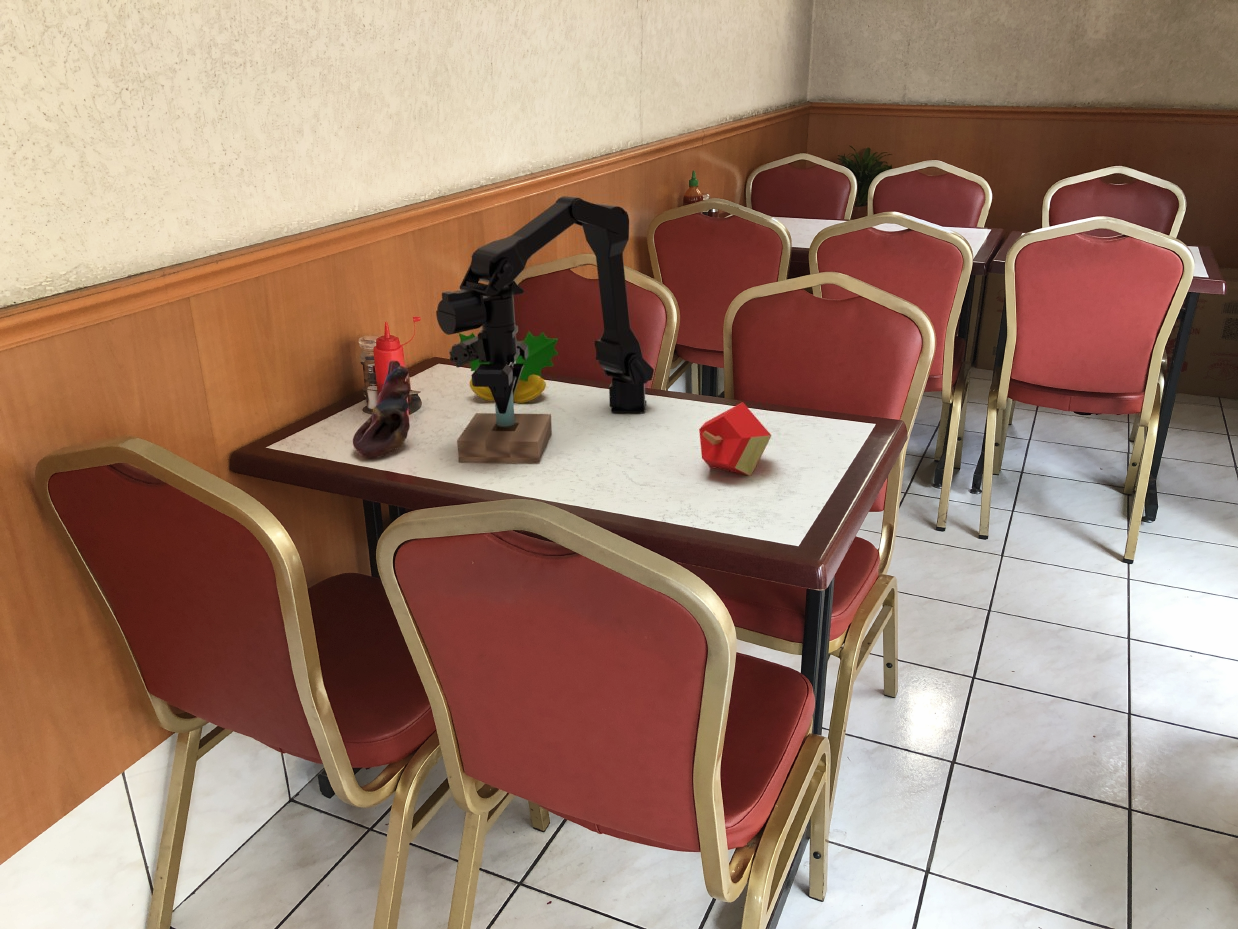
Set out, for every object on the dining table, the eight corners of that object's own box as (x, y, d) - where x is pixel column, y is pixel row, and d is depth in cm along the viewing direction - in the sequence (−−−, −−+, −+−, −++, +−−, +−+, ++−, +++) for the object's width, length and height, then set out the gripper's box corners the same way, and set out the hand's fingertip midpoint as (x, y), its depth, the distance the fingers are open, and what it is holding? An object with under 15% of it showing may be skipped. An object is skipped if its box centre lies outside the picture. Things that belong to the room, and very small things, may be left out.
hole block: (551, 434, 178) (550, 413, 177) (538, 463, 166) (537, 441, 164) (477, 433, 180) (475, 413, 178) (458, 462, 167) (456, 440, 165)
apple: (781, 477, 163) (744, 478, 150) (716, 468, 169) (676, 468, 156) (790, 407, 162) (753, 402, 149) (724, 400, 168) (684, 395, 156)
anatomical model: (340, 452, 173) (329, 371, 167) (399, 432, 181) (390, 355, 175) (370, 465, 167) (359, 381, 161) (429, 444, 175) (421, 364, 169)
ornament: (567, 393, 201) (564, 322, 195) (561, 406, 193) (557, 333, 187) (469, 392, 203) (464, 321, 197) (459, 405, 195) (453, 332, 189)
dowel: (516, 420, 172) (513, 377, 169) (512, 426, 169) (509, 383, 166) (498, 420, 172) (495, 377, 169) (494, 426, 170) (491, 382, 166)
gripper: (465, 310, 173) (472, 392, 179) (437, 337, 156) (446, 428, 162) (526, 309, 172) (531, 393, 178) (504, 337, 155) (511, 429, 161)
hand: (504, 410), depth 170 cm, fingers closed on dowel, 3 cm apart
